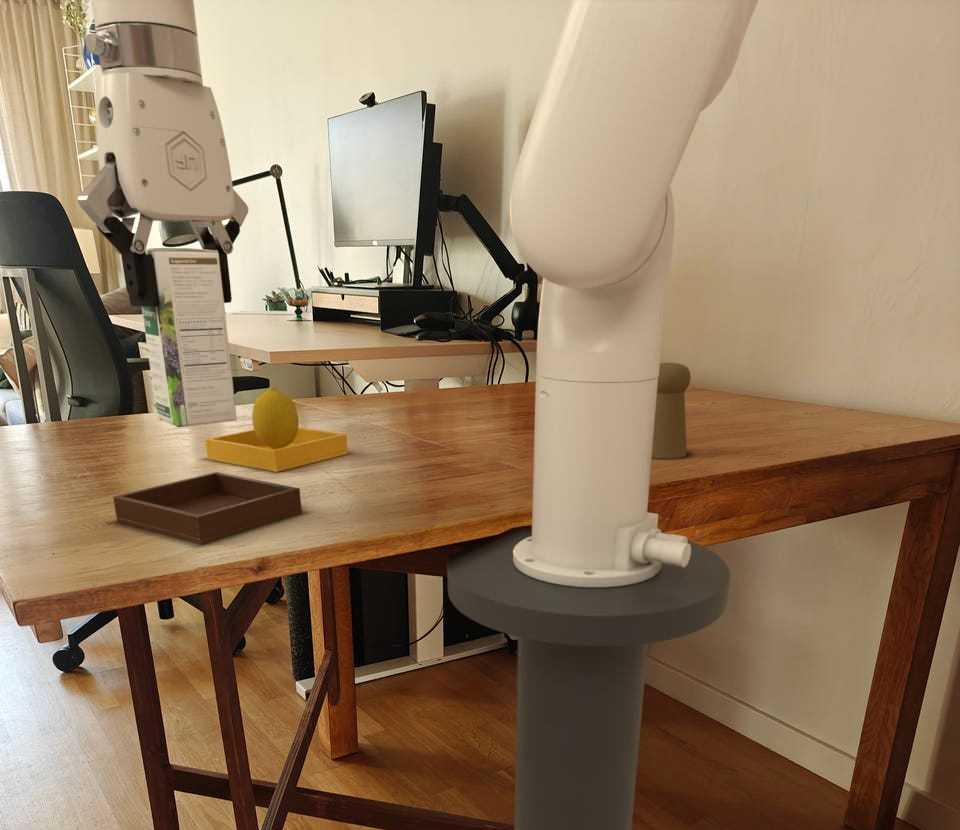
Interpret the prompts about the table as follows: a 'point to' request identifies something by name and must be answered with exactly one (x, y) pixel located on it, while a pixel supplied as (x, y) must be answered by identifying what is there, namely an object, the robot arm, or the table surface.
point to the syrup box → (189, 339)
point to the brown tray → (207, 506)
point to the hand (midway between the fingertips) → (182, 302)
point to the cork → (670, 411)
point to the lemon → (275, 418)
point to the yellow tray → (257, 455)
